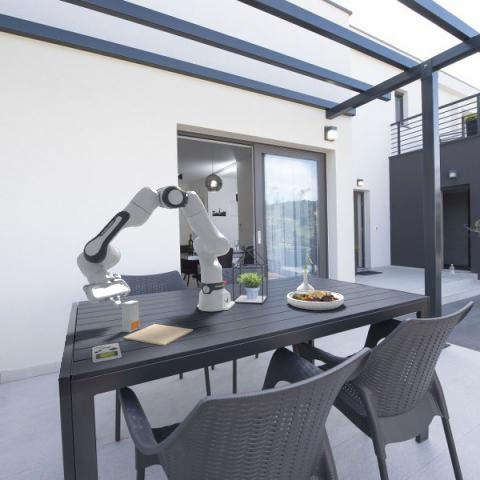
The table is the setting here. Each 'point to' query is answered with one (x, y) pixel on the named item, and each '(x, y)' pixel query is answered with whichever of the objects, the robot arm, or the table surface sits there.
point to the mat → (158, 334)
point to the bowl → (315, 300)
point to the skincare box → (130, 316)
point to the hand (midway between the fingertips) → (118, 305)
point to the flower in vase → (305, 279)
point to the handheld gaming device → (106, 352)
